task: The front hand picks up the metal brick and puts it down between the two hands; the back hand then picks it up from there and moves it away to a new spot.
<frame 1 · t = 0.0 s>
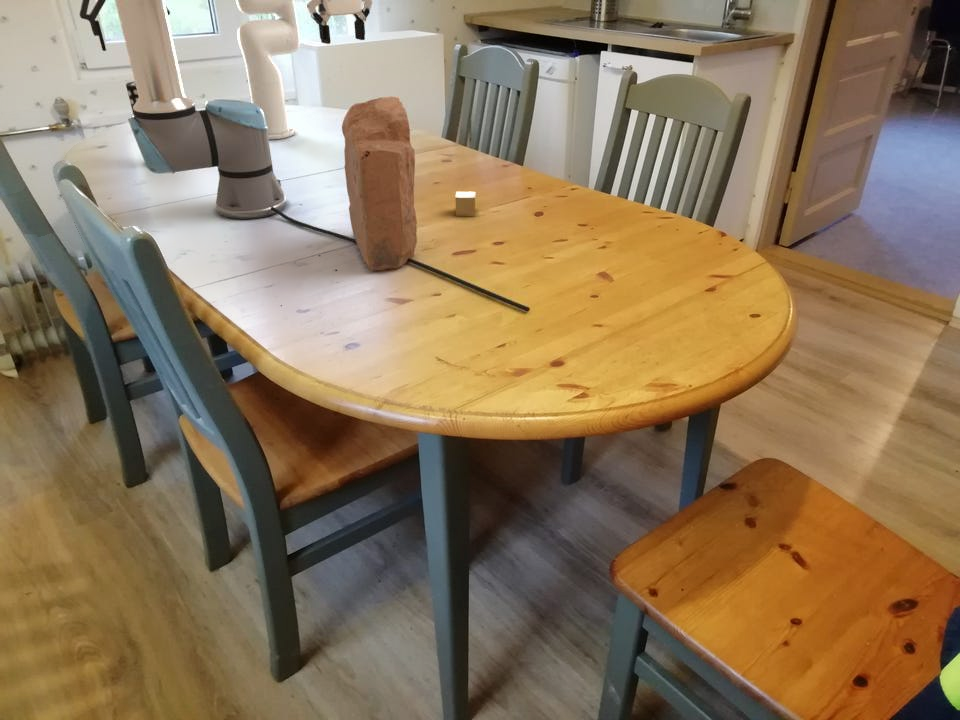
front hand: (133, 48, 174), 28 cm above the table, tool pointing down, fingers open, 13 cm apart
back hand: (343, 41, 166), 31 cm above the table, tool pointing down, fingers open, 9 cm apart
stone: (385, 249, 139), on the table
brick: (465, 213, 157), on the table
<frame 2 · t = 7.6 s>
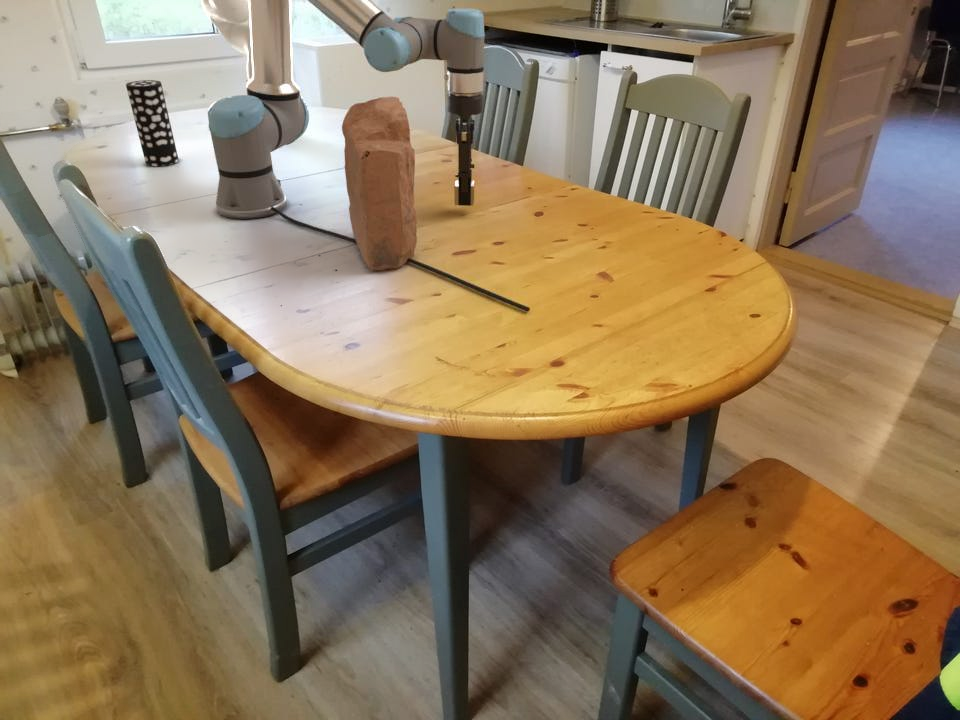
front hand: (465, 201, 155), 3 cm above the table, tool pointing down, fingers closed on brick, 4 cm apart
back hand: (345, 2, 211), 34 cm above the table, tool pointing down, fingers open, 9 cm apart
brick: (464, 202, 156), point 2 cm above the table, touching front hand
everything else where it was.
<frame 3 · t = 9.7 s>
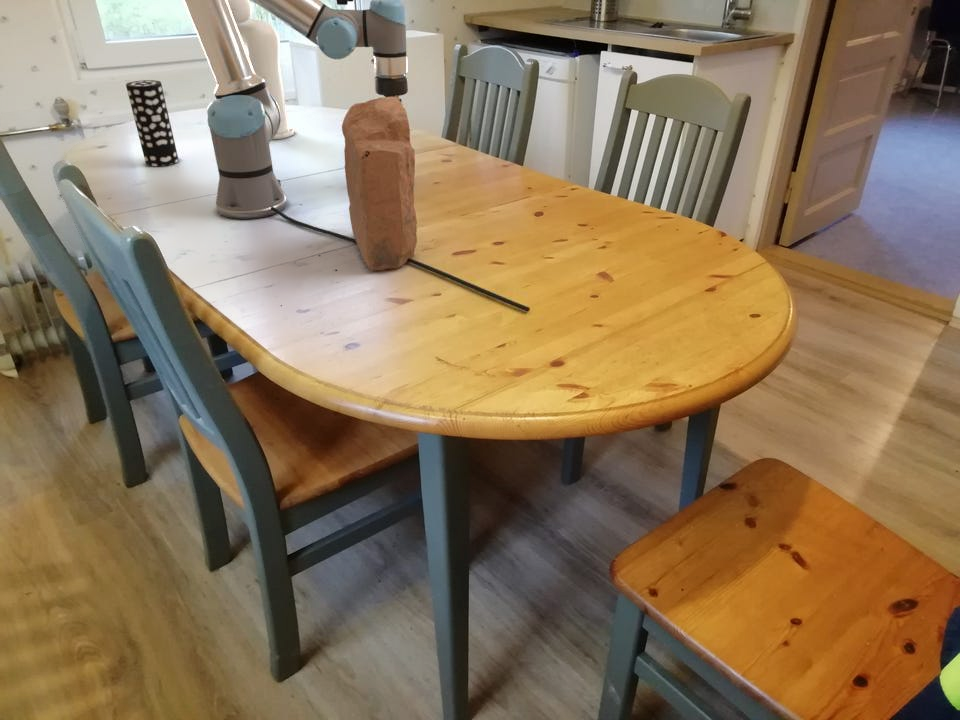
front hand: (395, 175, 170), 3 cm above the table, tool pointing down, fingers closed on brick, 4 cm apart
back hand: (345, 2, 211), 34 cm above the table, tool pointing down, fingers open, 9 cm apart
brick: (395, 176, 171), point 2 cm above the table, touching front hand
everything else where it was.
when the front hand's fingers open (0 cm above the table, at t = 11.8 s): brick stays where it is, on the table.
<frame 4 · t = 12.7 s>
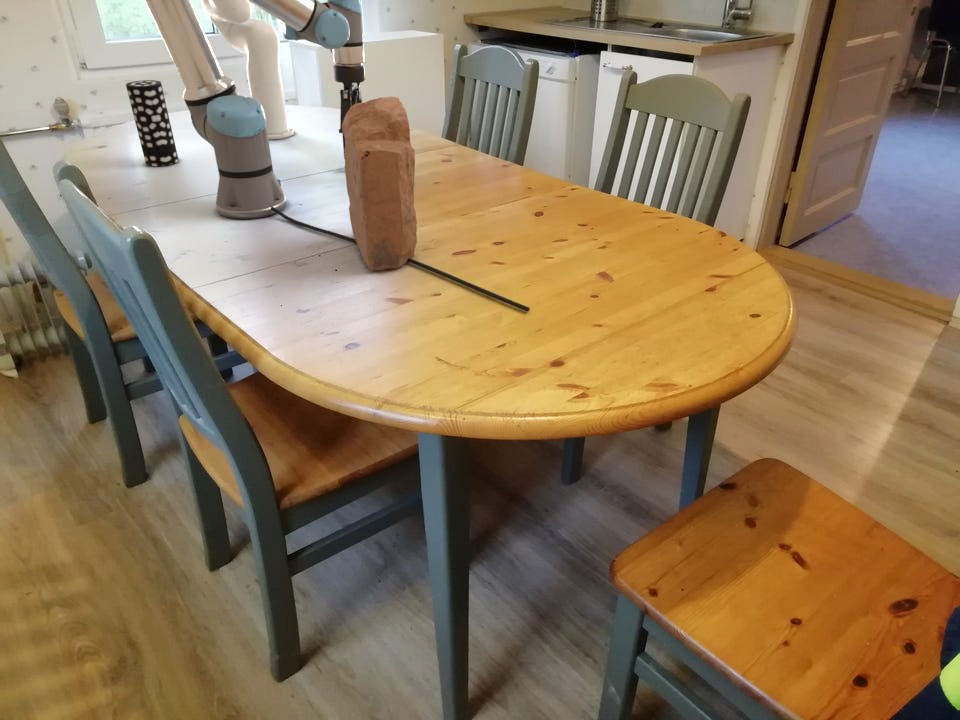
front hand: (354, 151, 179), 5 cm above the table, tool pointing down, fingers open, 13 cm apart
back hand: (345, 2, 211), 34 cm above the table, tool pointing down, fingers open, 9 cm apart
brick: (357, 170, 182), on the table
everything else where it was.
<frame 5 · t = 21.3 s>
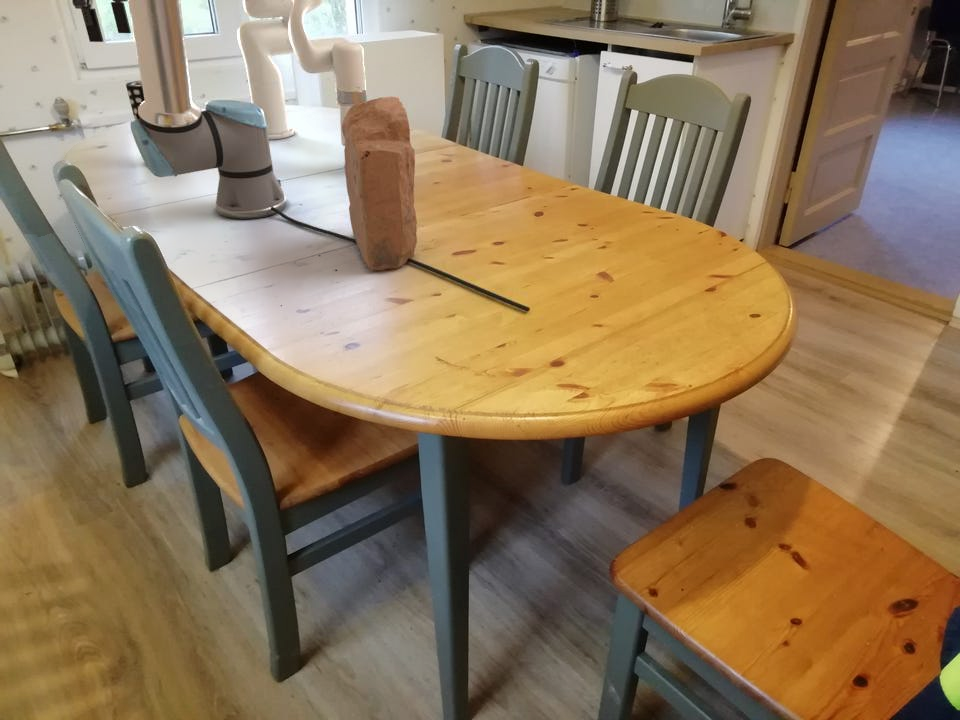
front hand: (111, 37, 158), 33 cm above the table, tool pointing down, fingers open, 13 cm apart
back hand: (357, 168, 182), 1 cm above the table, tool pointing down, fingers closed on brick, 4 cm apart
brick: (357, 170, 182), on the table, touching back hand
everything else where it was.
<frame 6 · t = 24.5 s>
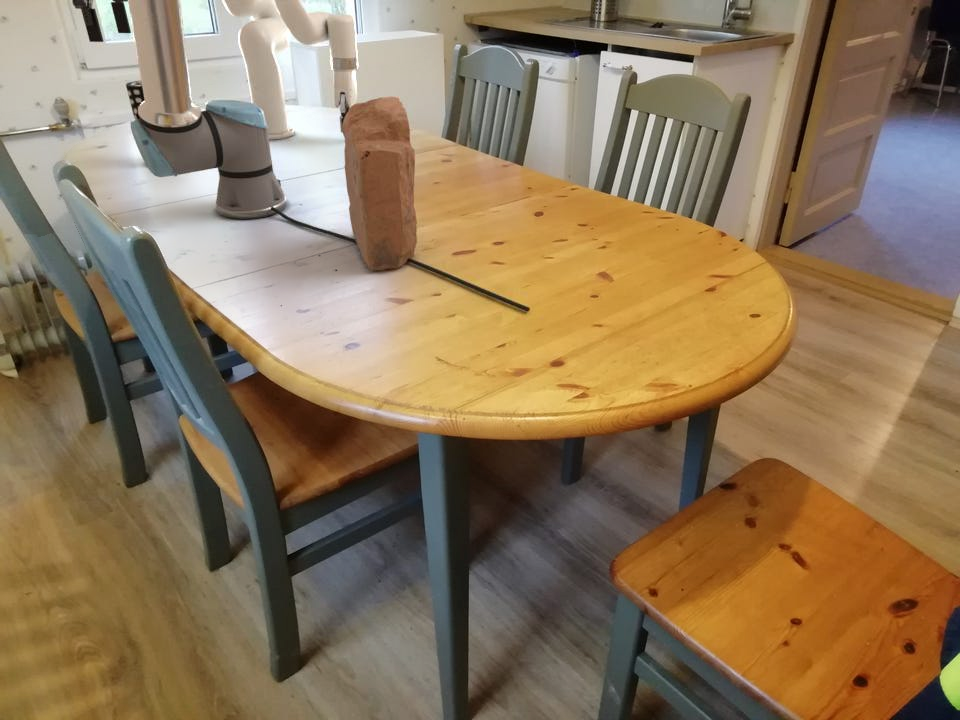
front hand: (111, 37, 158), 33 cm above the table, tool pointing down, fingers open, 13 cm apart
back hand: (349, 129, 204), 4 cm above the table, tool pointing down, fingers closed on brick, 4 cm apart
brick: (349, 130, 204), point 3 cm above the table, touching back hand
everything else where it was.
when the back hand's fingers open (1 cm above the table, at t = 27.7 s): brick stays where it is, on the table.
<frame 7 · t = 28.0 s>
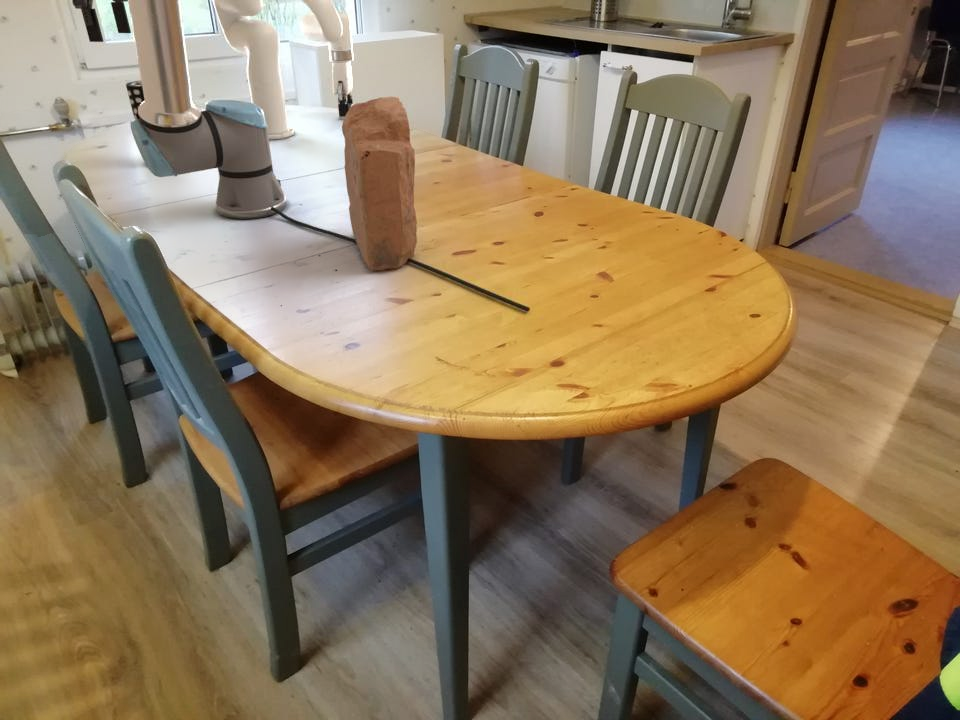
front hand: (111, 37, 158), 33 cm above the table, tool pointing down, fingers open, 13 cm apart
back hand: (346, 113, 229), 2 cm above the table, tool pointing down, fingers open, 7 cm apart
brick: (346, 118, 229), on the table
everything else where it was.
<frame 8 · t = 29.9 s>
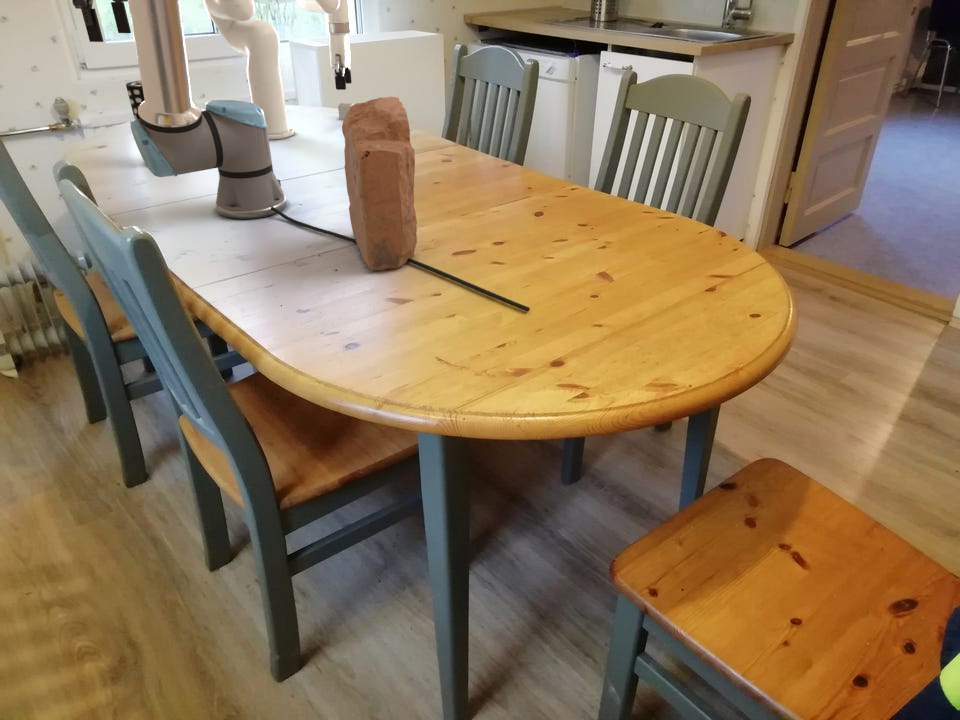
front hand: (111, 37, 158), 33 cm above the table, tool pointing down, fingers open, 13 cm apart
back hand: (344, 86, 224), 10 cm above the table, tool pointing down, fingers open, 9 cm apart
nothing on the table moved.
at the end: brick inside the target area (0.1 cm from its centre), on the table; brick tilted 0°; the two hands never held the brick at the same time; the front hand is holding nothing; the back hand is holding nothing; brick at rest at the end (0.0 cm/s) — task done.
